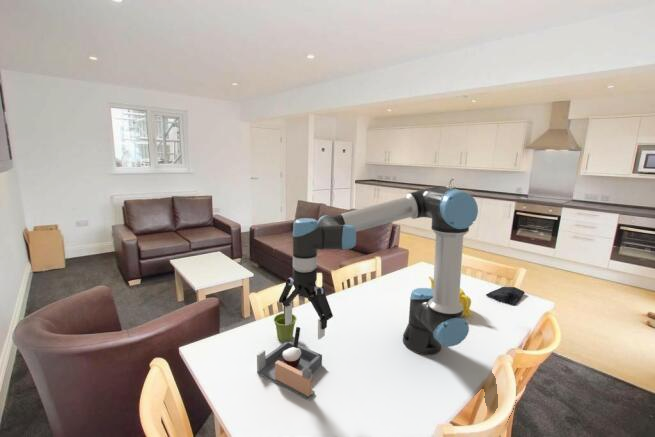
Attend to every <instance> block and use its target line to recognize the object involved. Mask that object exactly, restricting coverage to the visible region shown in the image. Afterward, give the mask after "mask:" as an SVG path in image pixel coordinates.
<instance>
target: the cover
mask: <svg viewBox="0 0 655 437" xmlns="http://www.w3.org/2000/svg"><path fill="white" fill-rule="evenodd" d="M312 375H313V374H312V370H310V369H308V368H306V369H304V370H303V372H301V371H299V370H297V369H295V368H293V367H291V366H289V365H287V364H285V363H283V362H281V361H279V360H278V361H277V362H275V379H276V380H278V381H280V382H282V383H284V384H286V385H288V386H290V387H291V388H293V389H295V390H297V391H299V392H301V393H303V394H305V395H306V396H308V397H309V396H310V395H311V394H312V390H313V388H312V387H313V384H312V383H313V376H312Z"/></svg>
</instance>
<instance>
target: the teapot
mask: <svg viewBox="0 0 655 437" xmlns="http://www.w3.org/2000/svg"><path fill="white" fill-rule="evenodd" d="M428 278H429V280H430V283H431V285H430V289H433V284H434V277H431V276H428ZM459 302H460V303H461V304H462V305H463V317H464V316H466V317H470V316H471V315H472V311H471V310H470V307H471V305H472V300H471V298H470V297H469V296H468V295H466V293H465V292H464V291H463V289H462V288H461V287H460V292H459Z"/></svg>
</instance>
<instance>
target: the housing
mask: <svg viewBox="0 0 655 437" xmlns="http://www.w3.org/2000/svg"><path fill="white" fill-rule="evenodd" d="M293 345H294V341H291V340H290V341H289V340H287V341H286V342H283V343H282V344H280V345H279V346H278V347H276V348H275V349H274V350H272V351H271V352H269V353H268V354H267V355H266V350H265V349H263V350H262V351H260V352H259V353H257V354H256V373H257V374H258V375H260V376H262V377H264V378H266V379H268V380H270V381H271V382H274V383H276V385H279V386H281V387H283V388H284V389H287V390H288V391H291V392H292V393H294V394H296V395H297V396H299V397H300V398H303V399H305V400H307V401H309V400H310V399H311V398H312V397H314V395H316V394H315V393H316V392H315V390H314V389H312V394H311V395H310V396H309V397H308V396H306V395H305V394H303V393H301V392H299V391H297V390H295V389H293V388H291V387H290V386H288V385H286V384H284V383H282V382H280V381H278V380H276V379H275V362H277V361H278V360H279V361H281V362H283V355H282V354H283V351H285V350H287V349H289V348H292V347H293ZM297 348H299V349H300V350H301V355H300V362H299V364H298V365H297V366H296V367H294V368H295V369H297V370H299V371H301V372H303V370H304V369H306V368H308V369H310V370H312V375H313V374H314V373H315V372H316V371H317V370H318V369H319V368H320V367H321V366H322V365H323V355H322V354H321V353H318V352H315V351H314V350H311V349H309V348H307V347H304V346H302V345H300V344H298V347H297ZM283 363H284V362H283Z"/></svg>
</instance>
